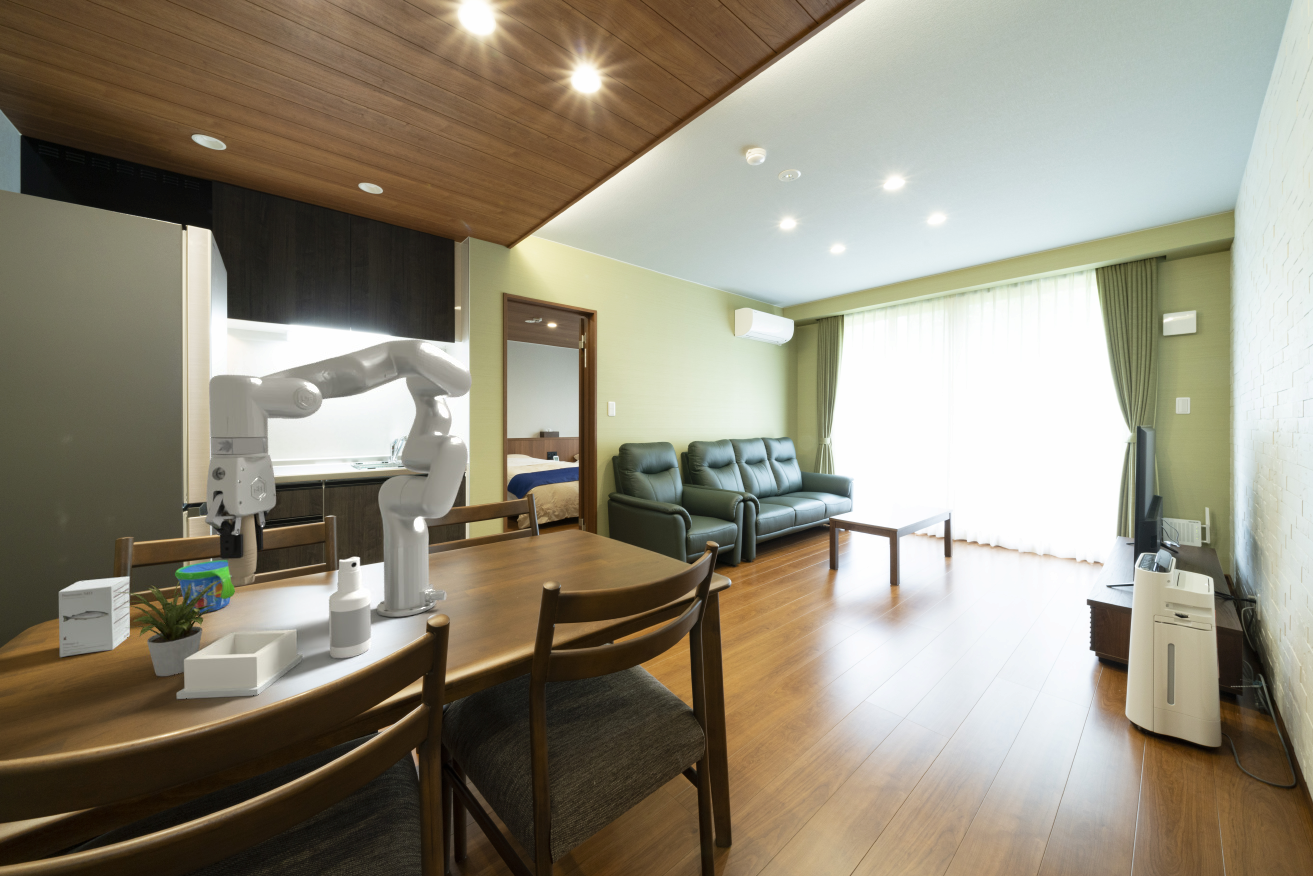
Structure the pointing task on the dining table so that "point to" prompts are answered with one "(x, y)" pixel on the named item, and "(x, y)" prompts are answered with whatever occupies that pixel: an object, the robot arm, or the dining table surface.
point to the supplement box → (93, 615)
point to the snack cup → (207, 583)
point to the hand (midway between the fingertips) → (242, 552)
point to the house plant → (172, 630)
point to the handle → (244, 554)
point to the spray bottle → (349, 612)
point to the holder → (240, 664)
